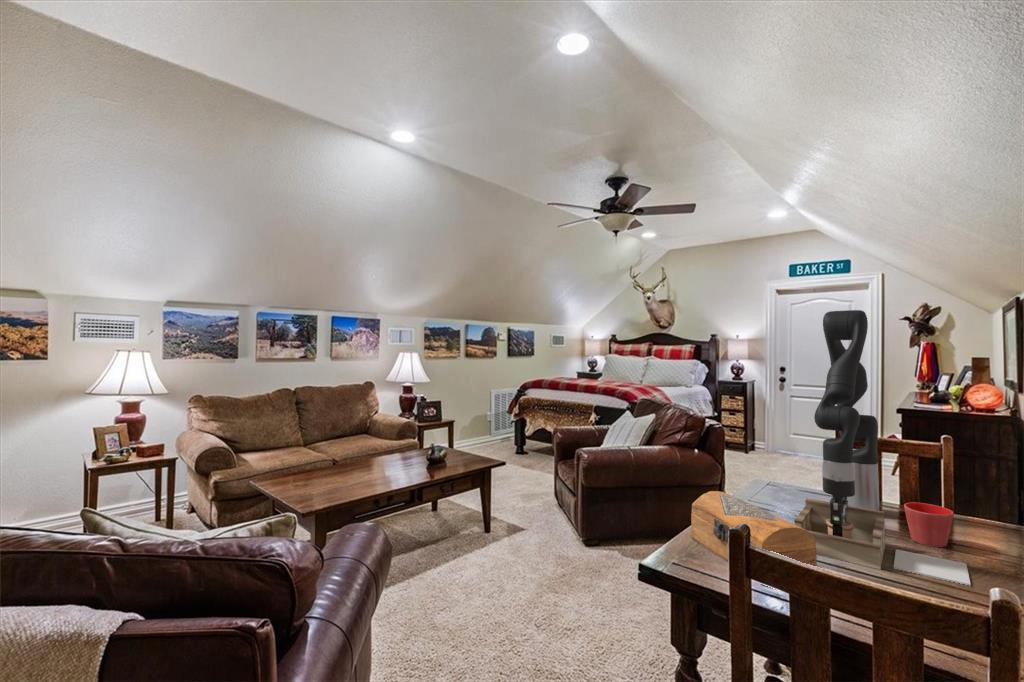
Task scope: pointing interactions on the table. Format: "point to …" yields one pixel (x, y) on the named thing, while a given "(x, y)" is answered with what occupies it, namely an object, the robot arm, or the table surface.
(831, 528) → the seedling pot
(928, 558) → the grey mat
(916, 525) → the flower pot
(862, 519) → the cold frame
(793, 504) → the table surface
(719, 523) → the wooden box
